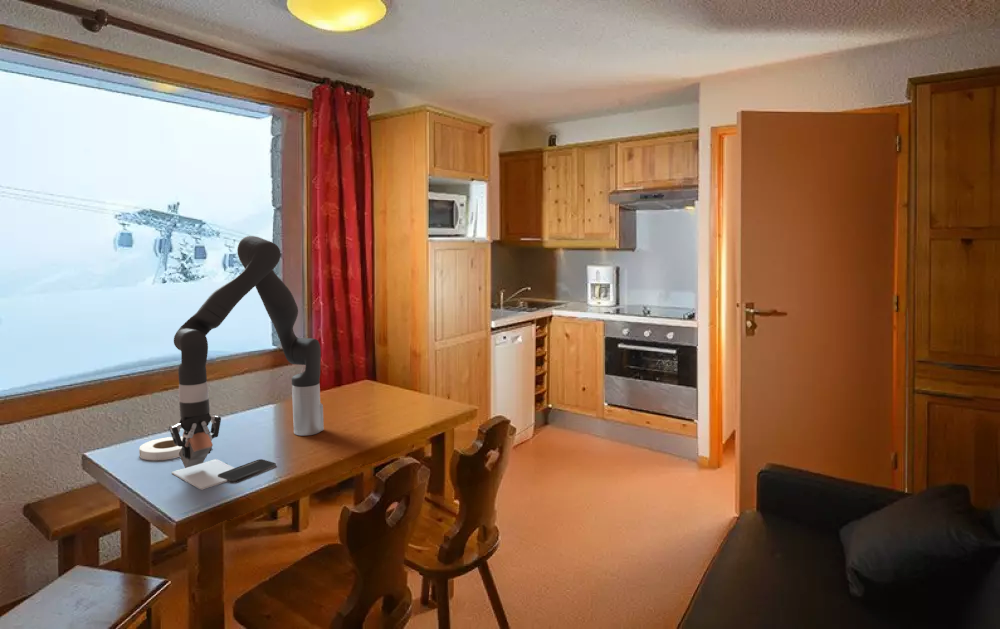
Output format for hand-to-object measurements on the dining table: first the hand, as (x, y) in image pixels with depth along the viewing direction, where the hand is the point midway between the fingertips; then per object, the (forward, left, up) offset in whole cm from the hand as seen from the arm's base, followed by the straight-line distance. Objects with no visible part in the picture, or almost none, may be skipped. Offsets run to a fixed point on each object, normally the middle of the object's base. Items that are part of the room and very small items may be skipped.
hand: (197, 455), depth 173 cm
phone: (-10, +9, -6) cm, 15 cm away
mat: (-2, +2, -6) cm, 6 cm away
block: (0, -5, -2) cm, 5 cm away
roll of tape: (-3, -27, -6) cm, 28 cm away
